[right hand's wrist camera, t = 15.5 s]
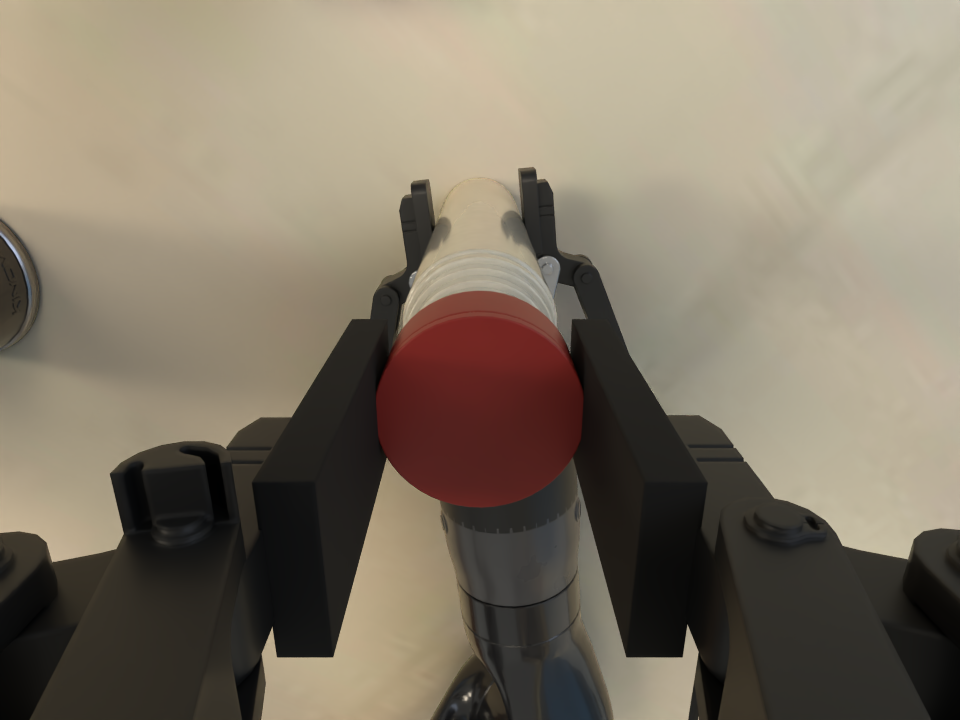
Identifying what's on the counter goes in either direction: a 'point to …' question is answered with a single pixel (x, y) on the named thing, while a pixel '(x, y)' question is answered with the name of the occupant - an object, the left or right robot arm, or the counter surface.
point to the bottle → (479, 251)
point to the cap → (479, 400)
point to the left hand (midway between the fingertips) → (474, 177)
